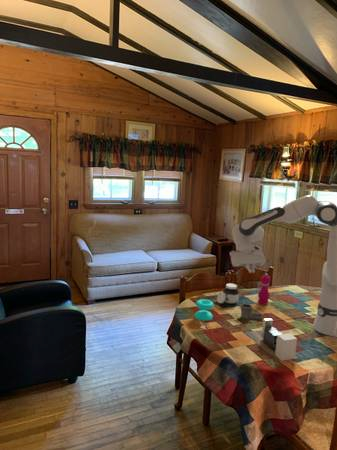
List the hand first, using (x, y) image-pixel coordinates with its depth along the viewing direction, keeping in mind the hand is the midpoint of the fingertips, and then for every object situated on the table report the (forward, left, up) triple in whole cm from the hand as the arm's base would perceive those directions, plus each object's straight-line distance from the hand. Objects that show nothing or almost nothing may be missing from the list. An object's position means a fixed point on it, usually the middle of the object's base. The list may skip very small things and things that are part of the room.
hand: (252, 272), depth 190 cm
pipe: (-4, -3, -30) cm, 30 cm away
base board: (+2, +26, -29) cm, 39 cm away
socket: (+2, +37, -28) cm, 47 cm away
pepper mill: (-25, -23, -30) cm, 45 cm away
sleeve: (+2, +27, -28) cm, 39 cm away
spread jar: (-1, -27, -30) cm, 40 cm away
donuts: (+23, -9, -30) cm, 38 cm away
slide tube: (+2, +30, -27) cm, 40 cm away
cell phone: (+20, +4, -30) cm, 36 cm away
